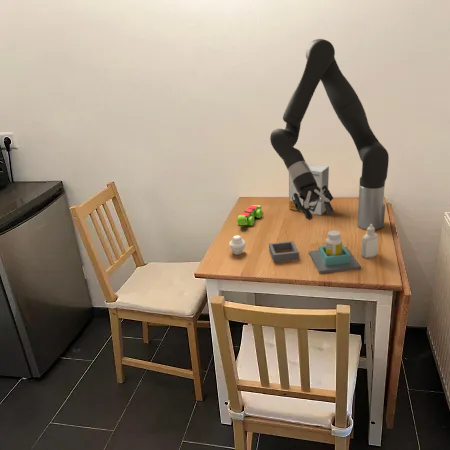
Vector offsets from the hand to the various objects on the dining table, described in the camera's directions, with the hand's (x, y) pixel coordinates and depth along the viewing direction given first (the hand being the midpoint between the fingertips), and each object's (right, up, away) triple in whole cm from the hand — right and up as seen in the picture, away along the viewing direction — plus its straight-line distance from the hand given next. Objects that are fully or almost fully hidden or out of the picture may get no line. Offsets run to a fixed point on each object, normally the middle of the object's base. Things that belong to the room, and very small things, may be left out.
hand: (321, 216), depth 156 cm
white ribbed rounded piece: (-29, -13, +11) cm, 33 cm away
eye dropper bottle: (+17, -14, +1) cm, 22 cm away
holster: (-12, -14, +6) cm, 20 cm away
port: (+4, -16, -1) cm, 16 cm away
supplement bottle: (+4, -15, -1) cm, 15 cm away
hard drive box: (+3, +4, +41) cm, 42 cm away
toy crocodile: (-23, -1, +36) cm, 43 cm away
